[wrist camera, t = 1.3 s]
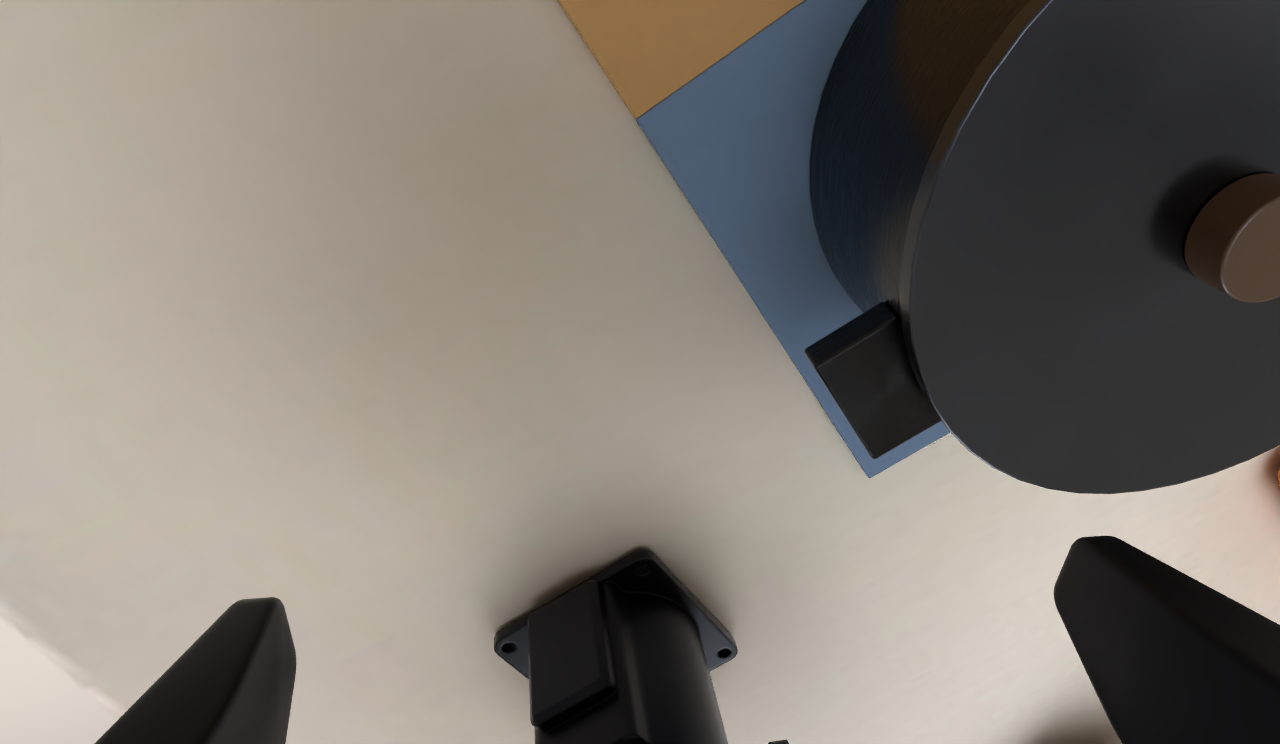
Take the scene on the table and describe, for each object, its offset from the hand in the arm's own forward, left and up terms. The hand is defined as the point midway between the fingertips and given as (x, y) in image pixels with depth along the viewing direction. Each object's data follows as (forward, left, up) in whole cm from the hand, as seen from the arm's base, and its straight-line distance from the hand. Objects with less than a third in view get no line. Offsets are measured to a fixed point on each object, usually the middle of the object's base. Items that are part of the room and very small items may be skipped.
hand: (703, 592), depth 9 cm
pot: (-5, -11, -13) cm, 18 cm away
